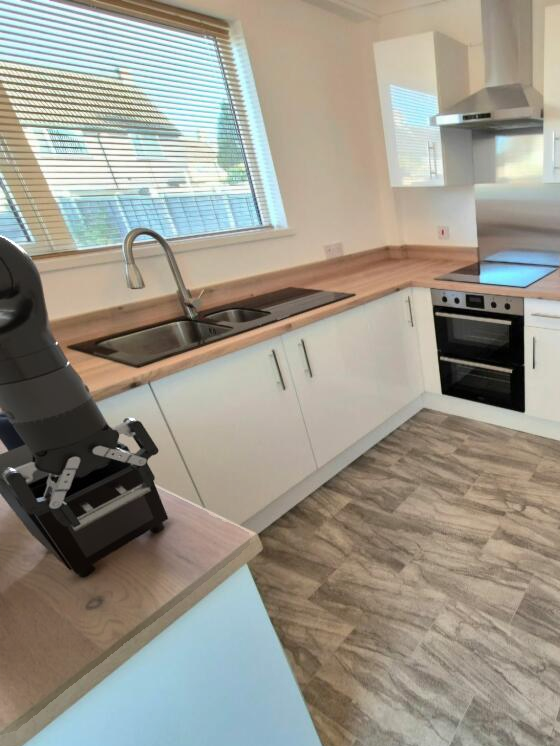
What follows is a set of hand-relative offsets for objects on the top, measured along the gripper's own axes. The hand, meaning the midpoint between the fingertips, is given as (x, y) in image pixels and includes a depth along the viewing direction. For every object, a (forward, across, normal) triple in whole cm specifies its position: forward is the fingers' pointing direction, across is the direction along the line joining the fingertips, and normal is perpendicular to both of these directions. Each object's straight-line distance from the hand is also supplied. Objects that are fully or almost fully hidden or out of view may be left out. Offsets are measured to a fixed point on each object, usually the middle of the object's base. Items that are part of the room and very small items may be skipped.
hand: (113, 503), depth 60 cm
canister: (+14, -4, -46) cm, 49 cm away
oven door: (+12, 0, -6) cm, 14 cm away
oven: (+14, 0, -17) cm, 22 cm away
